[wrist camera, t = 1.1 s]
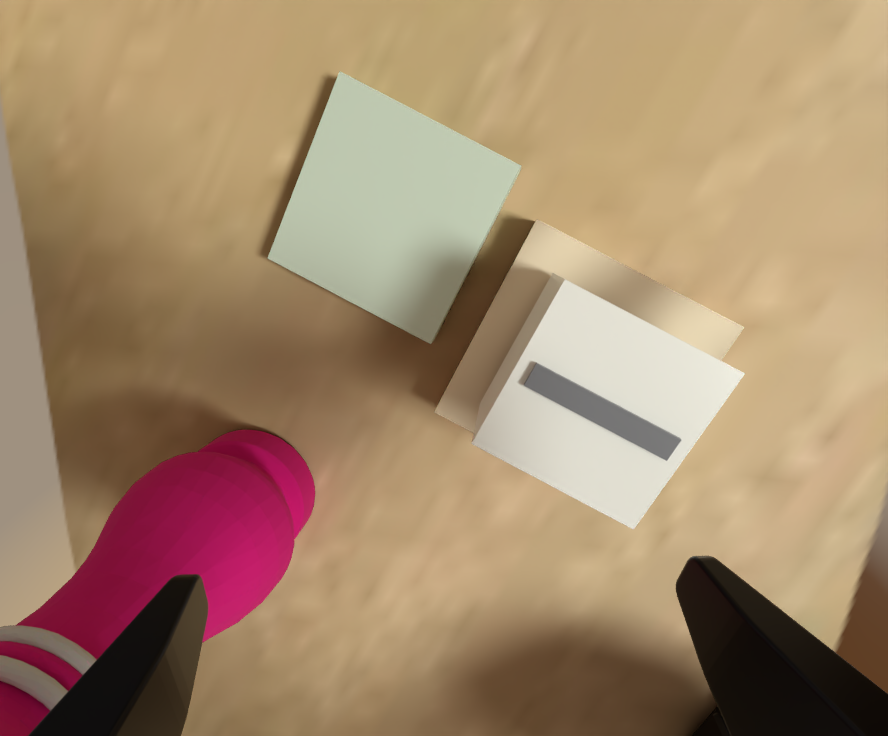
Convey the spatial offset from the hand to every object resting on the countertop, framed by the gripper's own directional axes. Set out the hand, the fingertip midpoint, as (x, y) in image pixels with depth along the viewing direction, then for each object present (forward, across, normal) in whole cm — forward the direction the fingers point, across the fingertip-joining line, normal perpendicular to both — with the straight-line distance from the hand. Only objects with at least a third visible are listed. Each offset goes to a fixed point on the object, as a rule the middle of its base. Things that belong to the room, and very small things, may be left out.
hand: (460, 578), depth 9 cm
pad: (+16, +1, -2) cm, 16 cm away
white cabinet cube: (+10, -7, +2) cm, 12 cm away
